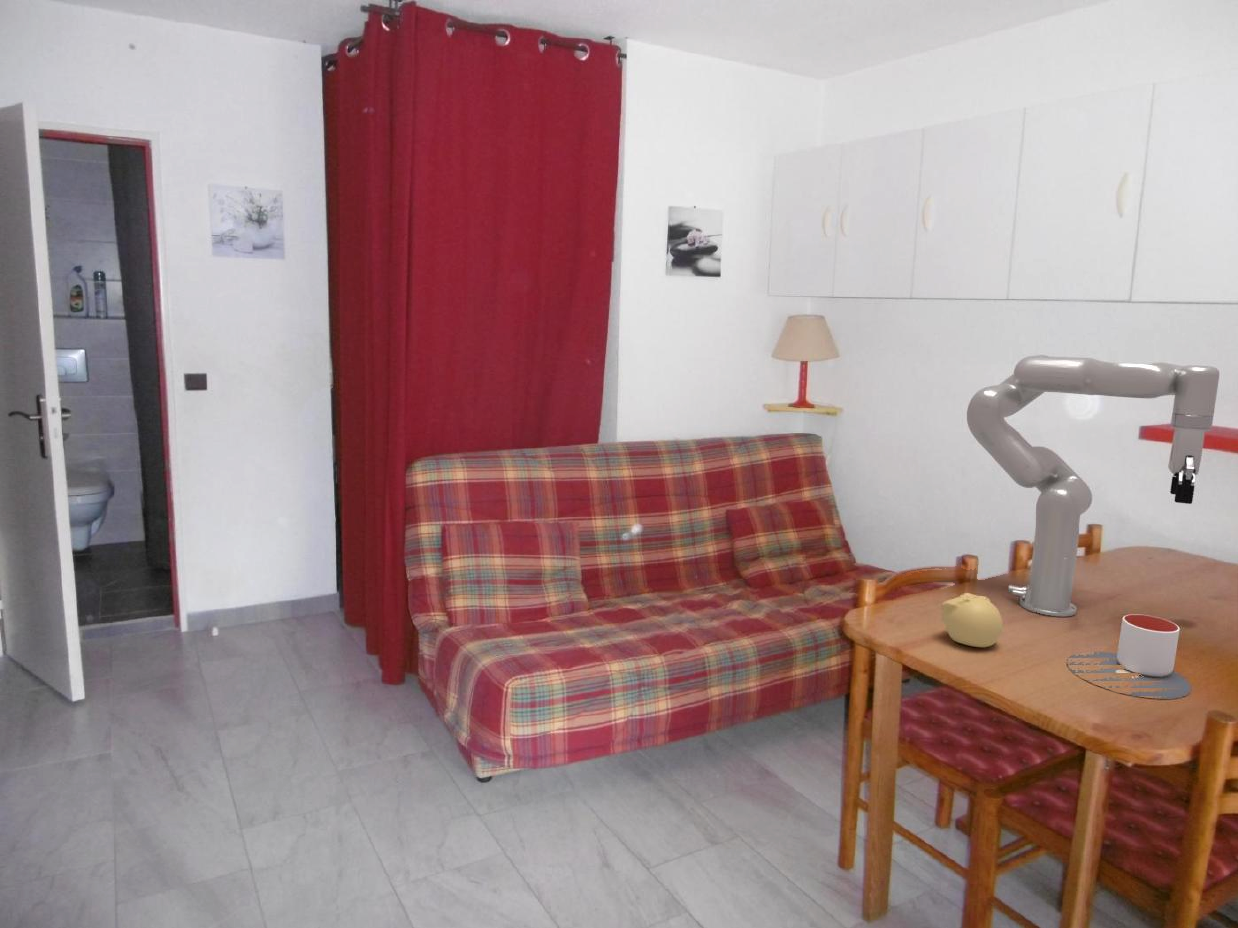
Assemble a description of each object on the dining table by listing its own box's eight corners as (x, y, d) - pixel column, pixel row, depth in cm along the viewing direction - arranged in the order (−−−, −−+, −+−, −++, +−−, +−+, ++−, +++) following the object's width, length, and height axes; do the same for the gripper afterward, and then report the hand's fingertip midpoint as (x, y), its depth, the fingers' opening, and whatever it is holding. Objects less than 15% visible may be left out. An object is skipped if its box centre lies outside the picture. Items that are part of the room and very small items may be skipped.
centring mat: (1063, 680, 168) (1063, 680, 168) (1069, 644, 187) (1069, 643, 187) (1195, 710, 157) (1195, 709, 157) (1187, 668, 176) (1188, 667, 176)
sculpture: (970, 628, 195) (975, 584, 193) (1011, 649, 184) (1017, 602, 182) (930, 634, 191) (935, 589, 188) (970, 655, 180) (975, 607, 178)
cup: (1120, 654, 182) (1127, 610, 180) (1175, 667, 176) (1182, 622, 174) (1111, 668, 174) (1118, 623, 172) (1168, 683, 168) (1176, 636, 166)
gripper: (1167, 417, 194) (1157, 489, 197) (1175, 425, 179) (1164, 504, 182) (1206, 419, 190) (1196, 493, 194) (1217, 428, 175) (1206, 508, 179)
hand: (1180, 498), depth 188 cm, fingers open, 9 cm apart
